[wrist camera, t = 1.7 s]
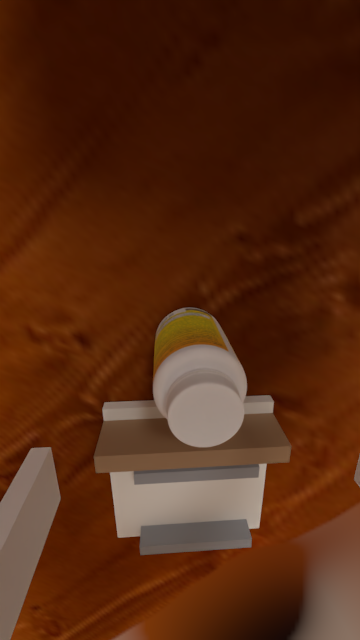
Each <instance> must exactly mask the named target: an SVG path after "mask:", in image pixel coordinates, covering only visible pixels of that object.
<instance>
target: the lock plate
mask: <svg viewBox="0 0 360 640" xmlns="http://www.w3.org/2000/svg"><path fill="white" fill-rule="evenodd" d="M243 406H244V419H243V422H242V425H241V427H240V428H239V430H238V431H237V433H236V434H235V435H234V436H233V437H231V438H230V439H229V440H227V441H226V442H224V443H222V444H219V445H216V446H212V447H194V446H190V445H187V444H185V443H183V442H181V441H180V440H178V439H177V438H176V437H175V436H174V434H173V433H172V432H171V430H170V428H169V425H168V421H167V419H166V418H165V417H164V416H163V415H162V414H161V412H160V411H159V409H158V408H157V406H156V403H155V401H154V400H146V401H124V402H104V406H103V409H102V411H103V419H104V422H103V425H102V429H101V432H100V436H99V439H98V443H97V446H96V450H95V454H94V463H95V470H96V473H109V472H110V477H111V486H112V494H113V502H114V511H115V519H116V527H117V536H118V538H121V537H136V536H140V555H149V554H163V553H177V552H191V551H205V550H219V549H233V548H246V547H251V542H252V538H251V534H250V531H249V529H252V528H259V525H260V516H261V508H262V499H263V491H264V483H265V474H266V466H267V463H285V462H289V459H290V453H291V444H290V443H289V441H288V439H287V437H286V436H285V434H284V432H283V430H282V428H281V427H280V425H279V423H278V421H277V420H276V418H275V416H274V414H273V406H274V401H273V399H272V397H271V396H270V395H260V396H245V399H244V402H243Z"/></svg>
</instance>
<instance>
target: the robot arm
mask: <svg viewBox="0 0 360 640" xmlns="http://www.w3.org/2000/svg"><path fill="white" fill-rule="evenodd" d="M354 480H355V482H356V483H357V484H358V486H359V487H360V455H359V459H358V464H357V468H356V472H355V476H354ZM60 499H61V497H60V491H59V486H58V481H57V476H56V471H55V466H54V461H53V455H52V450H51V447H44V448H31V449H30V451H29V453H28V455H27V457H26V458H25V460H24V462H23V464H22V465H21V467H20V469H19V471H18V472H17V474H16V476H15V478H14V479H13V481H12V483H11V485H10V487H9V488H8V490H7V492H6V494H5V495H4V497H3V499H2V501H1V502H0V640H10V639H11V636H12V633H13V631H14V628H15V625H16V622H17V620H18V617H19V614H20V611H21V608H22V606H23V603H24V600H25V597H26V594H27V592H28V589H29V586H30V583H31V580H32V578H33V575H34V572H35V569H36V566H37V564H38V561H39V558H40V555H41V552H42V550H43V547H44V544H45V541H46V538H47V536H48V533H49V530H50V527H51V524H52V522H53V519H54V516H55V513H56V511H57V508H58V505H59V502H60Z"/></svg>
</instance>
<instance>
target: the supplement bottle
mask: <svg viewBox="0 0 360 640" xmlns="http://www.w3.org/2000/svg"><path fill="white" fill-rule="evenodd" d="M246 392H247V379H246V375H245V372H244V369H243V367H242V365H241V363H240V361H239V360H238V358H237V356H236V354H235V352H234V350H233V348H232V346H231V344H230V343H229V341H228V339H227V337H226V335H225V334H224V332H223V330H222V328H221V326H220V324H219V323H218V322H217V320H216V319H215V318H214V317H213V316H212V315H211V314H209V313H208V312H206V311H204V310H201V309H198V308H190V307H189V308H182V309H178V310H176V311H173V312H172V313H170V314H169V315H167V316H166V317H165V318H164V319H163V320H162V321H161V323H160V325H159V326H158V329H157V331H156V335H155V347H154V370H153V397H154V401H155V403H156V406H157V408H158V409H159V411H160V412H161V414H162V415H163V416H164V417H165V418H166V419H167V421H168V425H169V428H170V430H171V432H172V433H173V434H174V436H175V437H176V438H177V439H178V440H180V441H181V442H183V443H185V444H187V445H190V446H194V447H212V446H216V445H219V444H222V443H224V442H226V441H227V440H229V439H230V438H231V437H233V436H234V435H235V434H236V433H237V431H238V430H239V428H240V427H241V425H242V422H243V419H244V406H243V402H244V399H245V396H246Z"/></svg>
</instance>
